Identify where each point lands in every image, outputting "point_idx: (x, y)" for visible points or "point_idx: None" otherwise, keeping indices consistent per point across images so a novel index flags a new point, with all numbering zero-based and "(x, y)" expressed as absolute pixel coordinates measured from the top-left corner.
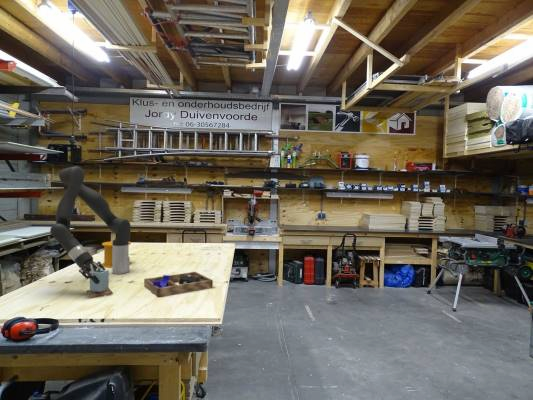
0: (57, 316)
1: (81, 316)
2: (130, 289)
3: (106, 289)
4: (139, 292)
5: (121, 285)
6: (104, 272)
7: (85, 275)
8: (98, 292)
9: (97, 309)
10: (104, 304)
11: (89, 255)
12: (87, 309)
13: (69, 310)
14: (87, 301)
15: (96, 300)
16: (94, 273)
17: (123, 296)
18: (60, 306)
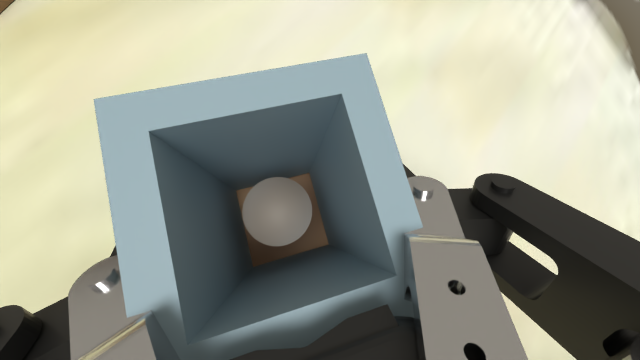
0: (625, 102)
1: (564, 9)
2: (92, 89)
3: None
4: None
5: (2, 245)
6: (259, 78)
7: (529, 275)
8: (309, 196)
9: (477, 8)
10: (413, 28)
11: None
12: (503, 51)
13: (560, 119)
14: (431, 152)
15: (391, 119)
16: (406, 195)
17: (255, 27)
18: None
